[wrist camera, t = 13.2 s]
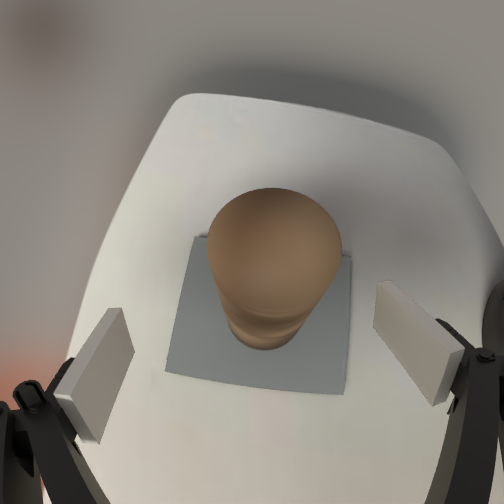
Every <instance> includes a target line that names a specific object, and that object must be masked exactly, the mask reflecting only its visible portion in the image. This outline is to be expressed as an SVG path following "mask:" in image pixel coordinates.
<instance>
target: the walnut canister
mask: <svg viewBox="0 0 504 504" xmlns="http://www.w3.org/2000/svg"><path fill="white" fill-rule="evenodd" d="M207 256H208V260H209V264H210V267H211V270H212V274H213V277H214V280H215V284H216V287H217V290H218V293H219V297H220V300H221V303H222V306H223V309H224V313H225V316H226V319H227V322H228V325H229V328H230V330H231V332H232V333H233V335H234V336H235V337H236V339H237V340H239V341H240V342H241V343H242V344H244V345H245V346H247V347H249V348H252V349H256V350H264V351H265V350H273V349H277V348H280V347H282V346H284V345H285V344H287V343H288V342H289V341H290V340H291V339H292V338H293V337H294V336H295V335H296V333H297V332H298V331H299V329H300V328H301V326H302V325H303V324H304V322H305V321H306V319H307V318H308V316H309V315H310V314H311V312H312V311H313V309H314V308H315V306H316V305H317V303H318V302H319V300H320V299H321V297H322V296H323V295H324V293H325V292H326V290H327V289H328V287H329V286H330V284H331V283H332V281H333V279H334V278H335V276H336V274H337V272H338V269H339V266H340V262H341V256H342V245H341V239H340V235H339V232H338V229H337V227H336V225H335V223H334V221H333V220H332V218H331V217H330V215H329V214H328V213H327V212H326V211H325V210H324V209H323V208H322V207H321V206H320V205H319V204H318V203H316V202H315V201H313V200H312V199H310V198H309V197H307V196H305V195H303V194H300V193H298V192H294V191H291V190H287V189H280V188H264V189H257V190H253V191H249V192H247V193H244V194H242V195H240V196H238V197H236V198H234V199H233V200H231V201H230V202H229V203H227V204H226V205H225V206H224V207H223V208H222V209H221V210H220V211H219V213H218V214H217V215H216V217H215V218H214V220H213V222H212V224H211V226H210V229H209V232H208V237H207Z"/></svg>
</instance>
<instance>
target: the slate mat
mask: <svg viewBox="0 0 504 504" xmlns="http://www.w3.org/2000/svg"><path fill="white" fill-rule="evenodd" d="M350 277H351V256H344V255H342V256H341V262H340V266H339V269H338V272H337V274H336V276H335V278H334V279H333V281H332V283H331V284H330V286H329V287H328V289H327V290H326V292H325V293H324V295H323V296H322V297H321V299H320V300H319V302H318V303H317V305H316V306H315V308H314V309H313V311H312V312H311V314H310V315H309V316H308V318H307V319H306V321H305V322H304V324H303V325H302V326H301V328H300V329H299V331H298V332H297V333H296V335H295V336H294V337H293V338H292V339H291V340H290V341H289V342H288V343H287V344H285V345H284V346H282V347H280V348H277V349H273V350H265V351H264V350H256V349H252V348H249V347H247V346H245V345H244V344H242V343H241V342H240V341H239V340H237V339H236V337H235V336H234V335H233V333H232V332H231V330H230V328H229V325H228V322H227V319H226V316H225V313H224V309H223V306H222V303H221V300H220V297H219V293H218V290H217V287H216V284H215V280H214V277H213V274H212V270H211V267H210V264H209V260H208V256H207V238H204V237H196V236H195V237H194V241H193V245H192V249H191V253H190V257H189V261H188V265H187V269H186V274H185V278H184V282H183V287H182V291H181V295H180V300H179V304H178V309H177V313H176V318H175V323H174V328H173V332H172V337H171V342H170V347H169V352H168V357H167V363H166V368H165V371H166V372H170V373H175V374H179V375H184V376H189V377H194V378H200V379H205V380H211V381H216V382H222V383H228V384H235V385H242V386H249V387H256V388H264V389H273V390H282V391H292V392H304V393H318V394H336V395H344V385H345V375H346V363H347V349H348V334H349V313H350Z"/></svg>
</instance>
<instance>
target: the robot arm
mask: <svg viewBox="0 0 504 504" xmlns="http://www.w3.org/2000/svg"><path fill="white" fill-rule="evenodd" d="M373 328H374V329H375V330H376V332H377V333H378V334H379V336H380V337H381V338H382V339H383V341H384V342H385V343H386V345H387V346H388V347H389V349H390V350H391V351H392V353H393V354H394V355H395V357H396V358H397V359H398V361H399V362H400V363H401V365H402V366H403V367H404V369H405V370H406V372H407V373H408V374H409V376H410V377H411V378H412V380H413V381H414V382H415V384H416V385H417V387H418V388H419V389H420V391H421V392H422V394H423V395H424V396H425V398H426V399H427V401H428V402H429V403H430V405H431V406H434V405H437V404H440V403H442V402H445V401H446V400H447V397H448V395H449V392H450V390H451V392H452V393H453V394H454V395H455V396H454V399H453V401H452V403H451V406H450V408H449V410H448V412H447V414H450V416H449V421H448V426H447V430H446V434H445V439H444V443H443V447H442V451H441V454H440V458H439V461H438V465H437V468H436V472H435V475H434V478H433V481H432V484H431V487H430V490H429V493H428V496H427V498H426V501H425V504H488V502H489V497H490V492H491V487H492V481H493V475H494V468H495V461H496V452H497V442H498V437H499V443H500V449H501V455H502V462H503V470H504V280H503V281H502V282H500V283H499V284H498V285H497V286H496V288H495V289H494V290H493V292H492V294H491V296H490V298H489V300H488V303H487V307H486V310H485V315H484V323H483V348H476V349H475V348H474V347H473V346H472V345H471V344H470V343H469V342H468V341H467V340H466V339H465V338H464V337H463V336H461V335H460V334H459V333H458V332H457V331H456V330H454V328H453V327H451V326H450V325H449V324H448V323H447V322H445V321H443V320H441V319H439V318H437V319H434V318H433V317H432V316H430V315H429V314H428V313H427V312H426V311H425V310H424V309H423V308H422V307H420V306H419V305H418V304H417V303H416V302H415V301H414V300H413V299H411V298H410V297H409V296H408V295H407V294H406V293H405V292H403V291H402V290H401V289H400V288H399V287H398V286H397V285H395V284H394V283H393V282H392V281H391V280H388V281H381V282H378V285H377V296H376V306H375V315H374V324H373ZM134 353H135V351H134V348H133V345H132V342H131V338H130V335H129V332H128V328H127V325H126V321H125V318H124V314H123V311H122V308H108V310H107V311H106V313H105V314H104V316H103V317H102V318H101V320H100V321H99V323H98V324H97V326H96V327H95V329H94V330H93V332H92V333H91V335H90V336H89V338H88V339H87V341H86V342H85V344H84V345H83V347H82V348H81V350H80V351H79V353H78V354H77V356H76V357H75V358H70V359H68V360H67V361H66V362H65V363H63V365H62V366H61V368H60V369H59V371H58V373H57V374H56V375H55V378H54V379H53V380H52V382H51V383H50V385H49V386H48V388H47V390H46V391H45V392H44V390H43V389H42V387H41V385H40V383H39V382H37V381H35V380H28V381H24V382H22V383H21V384H19V385H18V386H17V387H16V388H15V390H14V391H13V398H14V399H15V401H16V402H17V404H18V406H19V407H20V409H19V410H11V409H10V408H9V406H8V405H7V403H6V402H3V401H0V504H43V498H42V489H41V479H40V474H41V477H42V480H43V483H44V485H45V488H46V490H47V493H48V495H49V498H50V500H51V502H52V504H110V502H109V500H108V499H107V497H106V496H105V494H104V492H103V491H102V489H101V487H100V486H99V484H98V482H97V481H96V479H95V477H94V475H93V474H92V472H91V470H90V468H89V466H88V465H87V463H86V461H85V459H84V457H83V455H82V453H81V451H80V449H79V447H78V445H77V444H76V442H75V441H74V440H75V437H76V435H77V434H78V436H79V437H80V439H81V440H82V442H83V443H89V444H96V445H99V444H100V441H101V438H102V435H103V433H104V430H105V427H106V424H107V422H108V419H109V416H110V413H111V411H112V408H113V405H114V403H115V400H116V398H117V395H118V392H119V390H120V387H121V385H122V382H123V380H124V377H125V375H126V372H127V370H128V367H129V365H130V362H131V360H132V358H133V355H134Z"/></svg>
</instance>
